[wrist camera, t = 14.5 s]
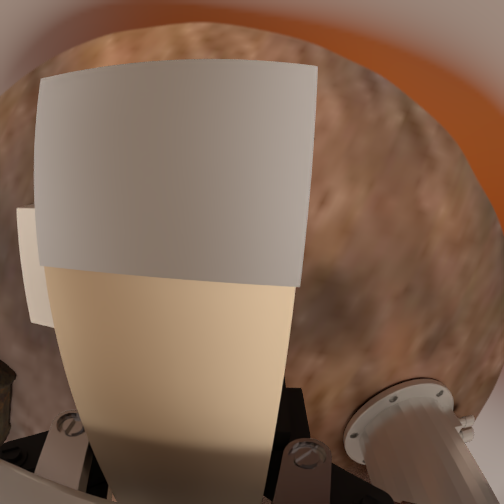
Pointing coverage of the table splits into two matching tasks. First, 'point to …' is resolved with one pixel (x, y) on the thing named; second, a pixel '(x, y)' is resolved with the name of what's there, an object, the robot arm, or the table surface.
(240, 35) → the table surface
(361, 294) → the table surface
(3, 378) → the hand tool
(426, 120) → the table surface
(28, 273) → the white and teal block
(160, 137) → the grey-capped beige stick
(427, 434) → the robot arm
